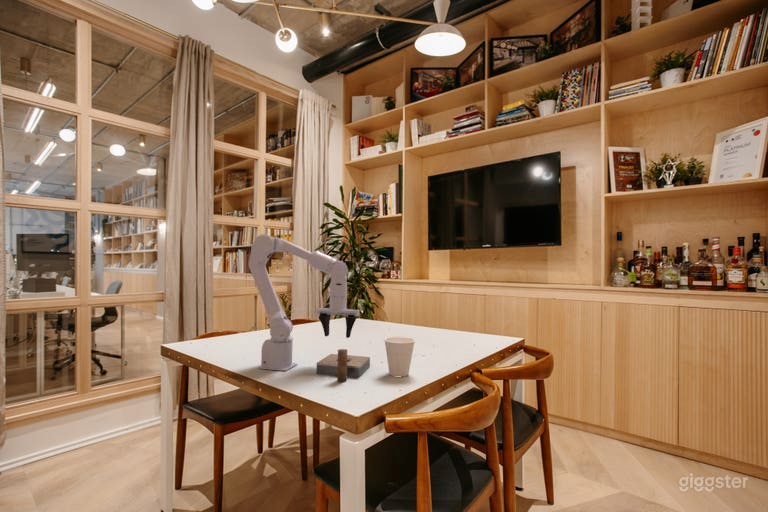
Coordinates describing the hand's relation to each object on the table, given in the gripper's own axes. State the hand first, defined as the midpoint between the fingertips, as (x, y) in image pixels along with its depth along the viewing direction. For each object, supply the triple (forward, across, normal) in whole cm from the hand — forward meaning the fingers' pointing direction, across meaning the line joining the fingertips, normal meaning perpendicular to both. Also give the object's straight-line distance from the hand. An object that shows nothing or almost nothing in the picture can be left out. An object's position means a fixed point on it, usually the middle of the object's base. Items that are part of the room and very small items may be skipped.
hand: (337, 336), depth 126 cm
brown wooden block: (+10, +7, -14) cm, 19 cm away
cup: (+10, +22, -3) cm, 24 cm away
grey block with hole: (+10, +4, -4) cm, 11 cm away
